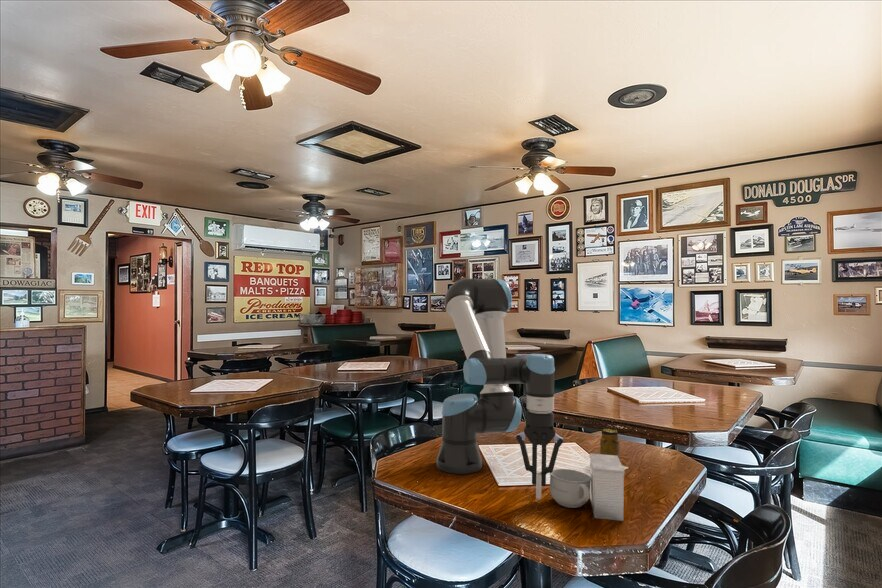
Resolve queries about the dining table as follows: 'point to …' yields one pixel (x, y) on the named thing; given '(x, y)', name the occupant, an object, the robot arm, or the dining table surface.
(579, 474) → the teacup
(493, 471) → the dining table surface
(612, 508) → the napkin dispenser
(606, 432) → the condiment
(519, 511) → the dining table surface
